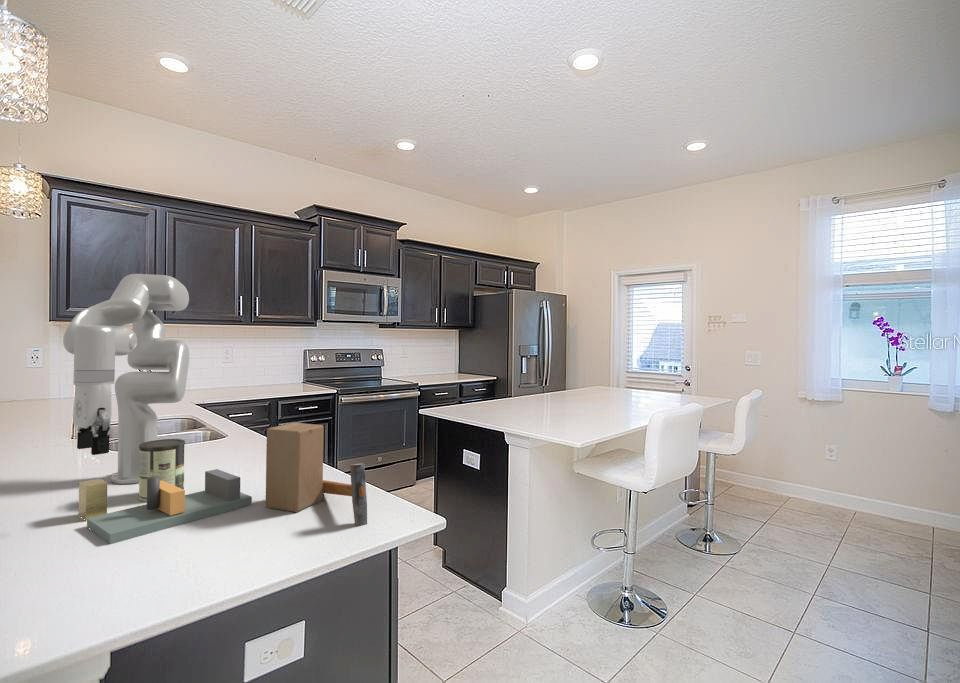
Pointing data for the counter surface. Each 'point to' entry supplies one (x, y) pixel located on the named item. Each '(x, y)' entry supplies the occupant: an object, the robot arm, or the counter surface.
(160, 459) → the coffee can
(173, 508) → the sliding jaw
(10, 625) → the counter surface
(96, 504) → the brass block
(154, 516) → the vise
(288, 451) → the wooden block
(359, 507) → the hammer
